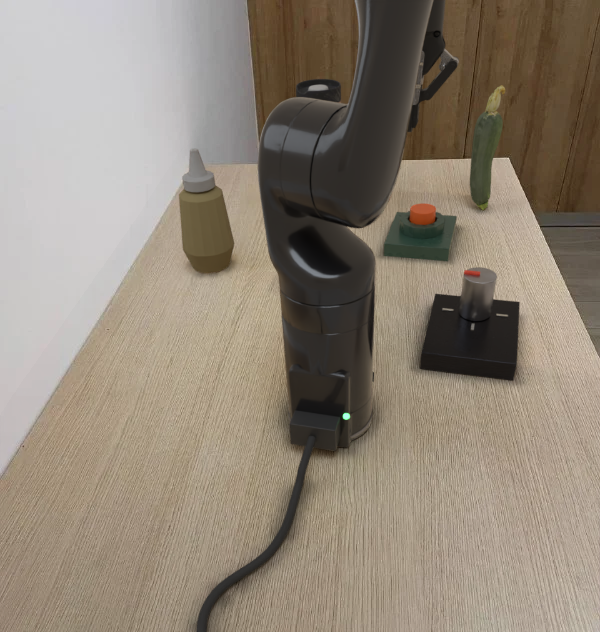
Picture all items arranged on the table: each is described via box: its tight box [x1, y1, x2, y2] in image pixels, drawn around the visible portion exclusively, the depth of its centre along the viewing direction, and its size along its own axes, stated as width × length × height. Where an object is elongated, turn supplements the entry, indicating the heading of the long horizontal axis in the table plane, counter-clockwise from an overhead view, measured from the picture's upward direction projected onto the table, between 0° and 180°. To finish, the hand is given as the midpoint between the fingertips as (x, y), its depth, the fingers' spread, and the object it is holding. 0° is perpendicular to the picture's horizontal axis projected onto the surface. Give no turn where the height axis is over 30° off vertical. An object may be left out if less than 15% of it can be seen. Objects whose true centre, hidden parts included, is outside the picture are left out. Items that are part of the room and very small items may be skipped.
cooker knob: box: [459, 266, 498, 321], centre depth 81 cm, size 4×4×6 cm
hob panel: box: [419, 293, 521, 382], centre depth 81 cm, size 14×11×3 cm
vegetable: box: [469, 84, 506, 211], centre depth 107 cm, size 4×4×20 cm
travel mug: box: [295, 78, 342, 103], centre depth 112 cm, size 8×8×20 cm
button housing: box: [383, 210, 458, 262], centre depth 103 cm, size 12×10×4 cm
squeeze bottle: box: [178, 148, 235, 274], centre depth 95 cm, size 8×8×18 cm
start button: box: [409, 202, 437, 225], centre depth 101 cm, size 4×4×2 cm
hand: (407, 130), depth 91 cm, fingers closed
